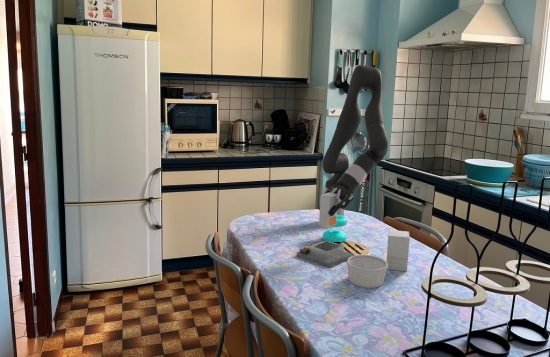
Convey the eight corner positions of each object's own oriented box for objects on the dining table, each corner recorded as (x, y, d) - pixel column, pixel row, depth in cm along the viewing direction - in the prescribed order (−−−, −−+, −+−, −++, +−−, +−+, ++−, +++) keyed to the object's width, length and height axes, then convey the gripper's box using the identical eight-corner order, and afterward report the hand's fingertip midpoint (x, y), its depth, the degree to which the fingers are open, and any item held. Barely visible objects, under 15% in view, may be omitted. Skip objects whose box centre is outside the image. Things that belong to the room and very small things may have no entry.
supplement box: (407, 264, 170) (409, 231, 167) (407, 271, 163) (409, 237, 160) (386, 261, 172) (388, 229, 169) (385, 269, 165) (388, 235, 162)
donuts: (319, 214, 196) (340, 212, 199) (318, 237, 198) (338, 235, 201) (330, 221, 187) (352, 219, 190) (329, 244, 189) (350, 242, 192)
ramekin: (386, 292, 147) (388, 271, 145) (344, 287, 149) (346, 267, 148) (385, 275, 159) (387, 256, 158) (346, 271, 162) (348, 252, 161)
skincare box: (328, 228, 170) (329, 196, 168) (318, 226, 173) (319, 195, 170) (336, 224, 175) (338, 194, 172) (327, 222, 177) (328, 192, 175)
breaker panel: (296, 255, 175) (296, 245, 175) (318, 247, 186) (319, 237, 185) (330, 267, 165) (331, 257, 164) (352, 257, 175) (353, 247, 174)
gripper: (335, 169, 179) (308, 201, 176) (358, 175, 167) (329, 211, 164) (346, 181, 183) (319, 213, 180) (369, 189, 170) (341, 223, 167)
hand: (324, 212), depth 172 cm, fingers closed on skincare box, 6 cm apart
